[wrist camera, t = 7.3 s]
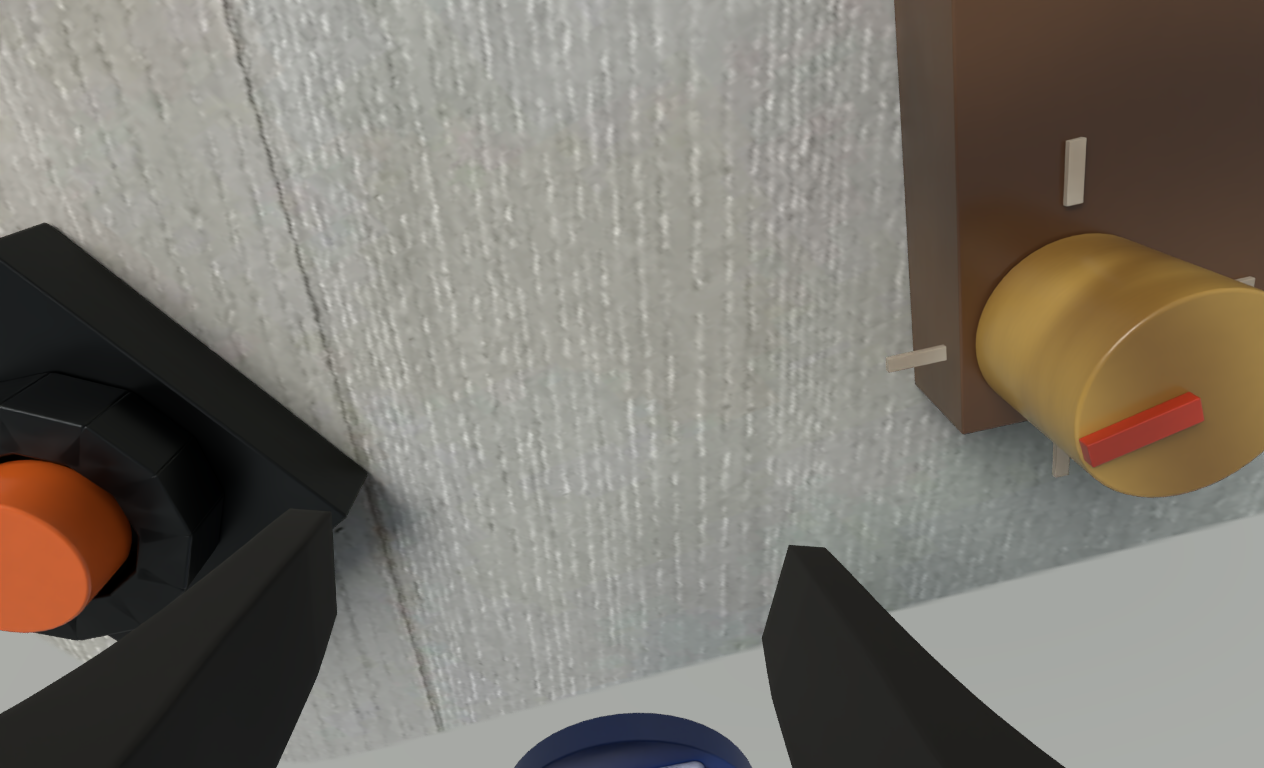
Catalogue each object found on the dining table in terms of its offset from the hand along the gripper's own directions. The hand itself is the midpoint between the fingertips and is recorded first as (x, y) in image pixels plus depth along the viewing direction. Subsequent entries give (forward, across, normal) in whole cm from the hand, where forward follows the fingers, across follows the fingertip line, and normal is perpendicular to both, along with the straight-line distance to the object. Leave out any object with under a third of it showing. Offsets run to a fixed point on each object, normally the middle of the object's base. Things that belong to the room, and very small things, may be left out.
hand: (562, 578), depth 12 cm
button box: (+9, +12, +4) cm, 16 cm away
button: (+6, +12, +4) cm, 14 cm away
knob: (+6, -11, -3) cm, 13 cm away
